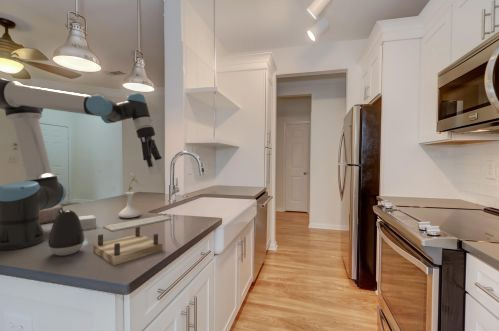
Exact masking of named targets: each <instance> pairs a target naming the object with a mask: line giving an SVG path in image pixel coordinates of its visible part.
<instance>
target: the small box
mask: <svg viewBox="0 0 499 331" xmlns="http://www.w3.org/2000/svg"><path fill="white" fill-rule="evenodd" d="M78 217H79V219H80V222H81V224H82V228H83V231H86V230H91V229H92V230H94V229H96V228H97V227H96V226H97V217H96V216H95V215H94V214H90V215H82V216H79V215H78Z"/></svg>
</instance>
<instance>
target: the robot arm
mask: <svg viewBox="0 0 499 331" xmlns="http://www.w3.org/2000/svg"><path fill="white" fill-rule="evenodd" d="M146 100H147V99H146V98H145V95H143V94H142V93H138V92H136V93H130V94H129V95H127V96H126V101H122V102H118V103H116V102H114V101H112V100H110V99H108V98H107V97H105V96H103V95H100V94H94V95H89V94H82V93H78V92H77V93H76V92H69V91H63V90H56V89H50V88H42V87H38V86H30V85H24V84H22V83H20V82H19V81H14V80H9V79H5V78H2V77H1V78H0V109H2V110H4V114H5V117H6V119H7V120H9V121H11V122H12V124H13V129H14V133H15V137H16V140H17V142H16V143H17V145H18V149H19V153H20V157H21V160H22V161H21V162H22V165H23V170H24V172H25V178H24V179H23V180H22V181H13V182H7V183H5V184H1V185H0V251H9V250H10V251H11V250H17V249H18V250H19V249H22V248H27V247H32V246H35V245H38V244H41V243H42V242H44V241H45V239H46V237H45V236H46V233H45V231H44V229H43V227H42V224H40V222H39V211H40V210H44V209H47V208H52V207H54V206H56V205H58V204H60V205H61V203H62V202H63V201H64V199H65V198H66V195H67V188H66V187H65V185H64V184H63V183H61V182H60V181H59V180H58V176H57V175H56V174H54V173H53V172H52V169H51V165H50V164H51V163H50V161H49V157H48V153H47V149H46V145H45V141H44V136H43V132H42V128H41V124H40V119H41V118H42V117H43V112H44V110H45V109H47V110H54V111H61V112H68V113H75V114H81V115H88V116H94V117H100V119H101V120H102V121H103V122H104V123H106V124H114V123H117V122H121V121H125V120H129V119H132V122H133V126H134V128H135V130H136V132H135V133H136V135H137V138H138V139H140V143H141V149H142V150H141V151H142V159H143V161H145V163H146V165H147V170H148V172H149V176H152V175H156V174H158V175H159V174H161V173H164V172H165V170H164V167H163V163H162V159H163V157H162V156H161V154H160V151H159V149H158V147H157V144H156V141H155V139H153V138H152V137H154V136H155V135H156V132H155V128H154V127H153V119H152V118H151V115H150V111H149V106H148V103H147V101H146Z"/></svg>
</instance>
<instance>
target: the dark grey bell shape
mask: <svg viewBox="0 0 499 331" xmlns="http://www.w3.org/2000/svg"><path fill="white" fill-rule="evenodd" d="M52 223H53V224H52V226H51V230H50V232H49V237H48V243H47V244H48V247H49V249H50V252H52V254H54V255H56V256H62V257H63V256H70V255H74V254H75V253H77V252H78V251H79V250H80V249H82V247H83V245H84V242H85V233H84V230H83V228H82V224H81V222H80V219H79V215H78V214H77V213H76V212H75V211H73V210H71V209H66V210H63V211H59V214H58V216H57V217H56V219H55V221H54V222H52Z"/></svg>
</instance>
